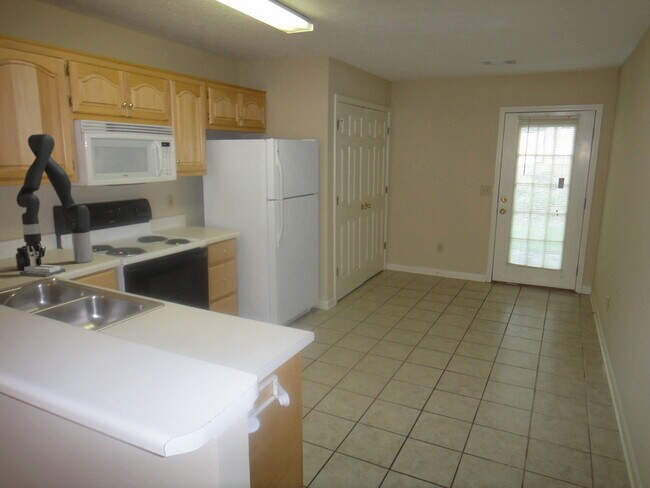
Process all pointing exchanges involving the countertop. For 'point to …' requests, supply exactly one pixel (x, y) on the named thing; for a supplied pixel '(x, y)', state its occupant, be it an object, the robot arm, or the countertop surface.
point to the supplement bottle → (22, 259)
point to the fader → (33, 261)
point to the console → (42, 270)
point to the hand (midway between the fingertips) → (36, 264)
